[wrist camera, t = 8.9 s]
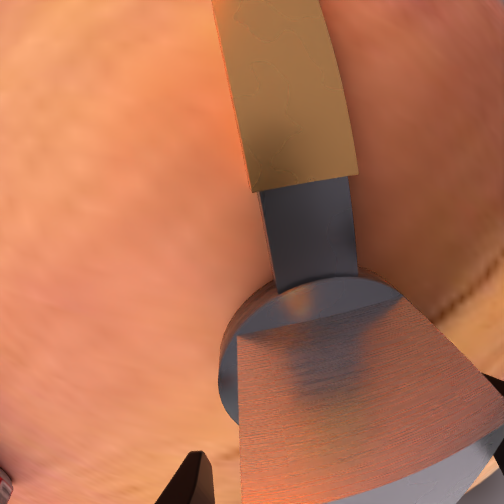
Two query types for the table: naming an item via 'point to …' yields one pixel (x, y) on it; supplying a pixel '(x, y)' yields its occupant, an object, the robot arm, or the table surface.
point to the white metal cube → (362, 411)
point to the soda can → (5, 487)
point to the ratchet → (292, 169)
